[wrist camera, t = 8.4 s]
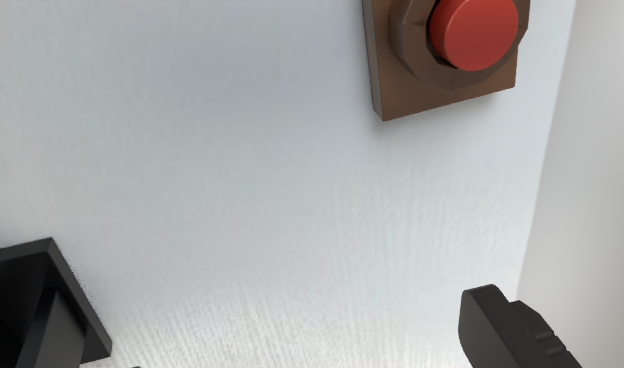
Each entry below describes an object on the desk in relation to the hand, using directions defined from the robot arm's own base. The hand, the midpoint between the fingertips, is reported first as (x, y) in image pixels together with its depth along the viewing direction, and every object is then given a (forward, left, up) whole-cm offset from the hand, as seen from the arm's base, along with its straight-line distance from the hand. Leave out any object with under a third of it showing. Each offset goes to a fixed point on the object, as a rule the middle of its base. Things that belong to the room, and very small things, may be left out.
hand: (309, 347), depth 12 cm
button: (-5, +10, -14) cm, 18 cm away
